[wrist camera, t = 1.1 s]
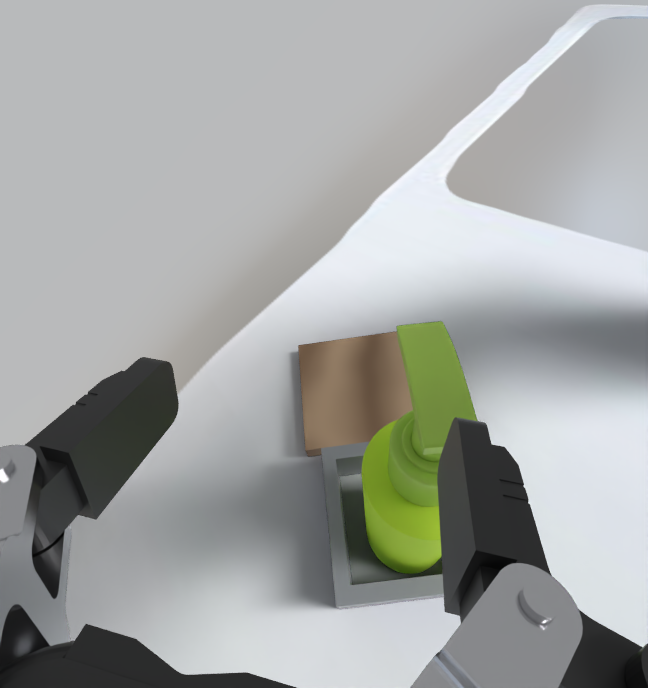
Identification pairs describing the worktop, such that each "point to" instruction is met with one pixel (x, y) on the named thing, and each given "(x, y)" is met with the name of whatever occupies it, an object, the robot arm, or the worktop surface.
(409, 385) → the soap dispenser
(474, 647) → the robot arm
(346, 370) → the board
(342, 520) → the tray
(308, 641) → the worktop surface
